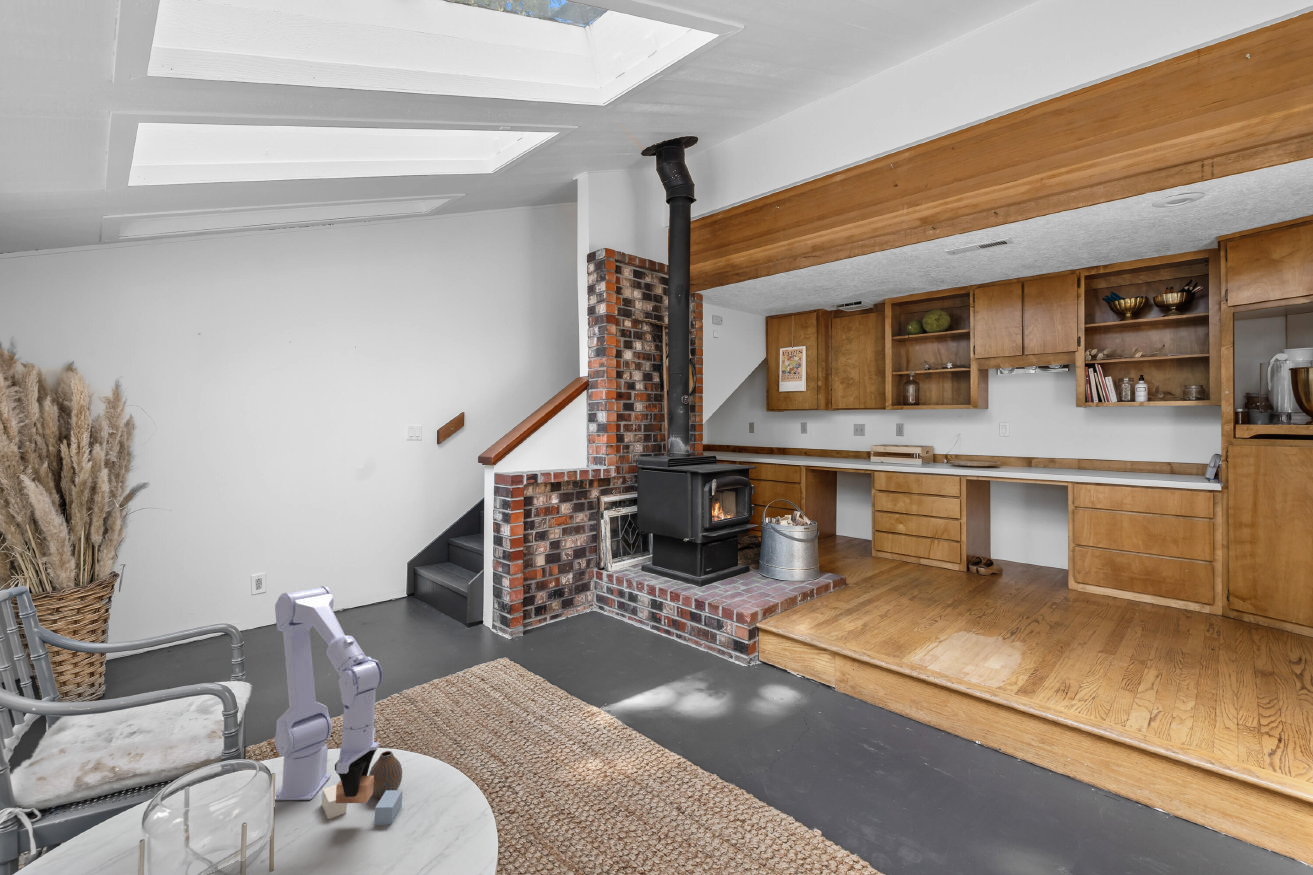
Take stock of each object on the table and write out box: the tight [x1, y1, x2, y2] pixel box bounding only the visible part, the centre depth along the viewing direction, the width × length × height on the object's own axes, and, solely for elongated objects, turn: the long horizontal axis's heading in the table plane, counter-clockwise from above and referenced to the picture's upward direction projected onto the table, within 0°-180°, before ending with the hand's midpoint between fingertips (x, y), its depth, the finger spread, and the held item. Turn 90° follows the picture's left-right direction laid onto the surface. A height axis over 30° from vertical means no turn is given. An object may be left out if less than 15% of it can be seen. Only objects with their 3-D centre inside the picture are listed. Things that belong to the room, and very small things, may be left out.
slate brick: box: [374, 789, 403, 826], centre depth 123 cm, size 6×3×4 cm, turn 5°
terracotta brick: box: [336, 775, 374, 804], centre depth 120 cm, size 6×3×4 cm, turn 95°
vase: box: [368, 750, 403, 799], centre depth 130 cm, size 7×7×9 cm
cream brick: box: [321, 783, 348, 820], centre depth 124 cm, size 6×3×4 cm, turn 41°
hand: (355, 789), depth 120 cm, fingers closed on terracotta brick, 3 cm apart
